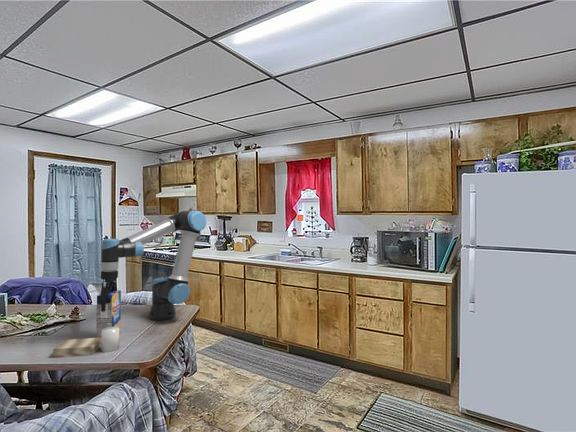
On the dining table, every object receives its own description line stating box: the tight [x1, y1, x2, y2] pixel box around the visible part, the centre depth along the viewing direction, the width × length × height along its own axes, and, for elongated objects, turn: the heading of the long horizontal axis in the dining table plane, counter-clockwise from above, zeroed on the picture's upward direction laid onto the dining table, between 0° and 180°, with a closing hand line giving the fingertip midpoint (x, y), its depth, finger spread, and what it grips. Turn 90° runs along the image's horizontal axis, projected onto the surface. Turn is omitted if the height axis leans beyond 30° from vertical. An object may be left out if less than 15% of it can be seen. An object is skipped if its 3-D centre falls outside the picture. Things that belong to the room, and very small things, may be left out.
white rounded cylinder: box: [100, 327, 120, 353], centre depth 148 cm, size 7×7×9 cm
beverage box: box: [95, 290, 122, 338], centre depth 161 cm, size 7×11×22 cm, turn 7°
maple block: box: [52, 337, 101, 358], centre depth 145 cm, size 15×11×4 cm
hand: (108, 314), depth 161 cm, fingers open, 13 cm apart
